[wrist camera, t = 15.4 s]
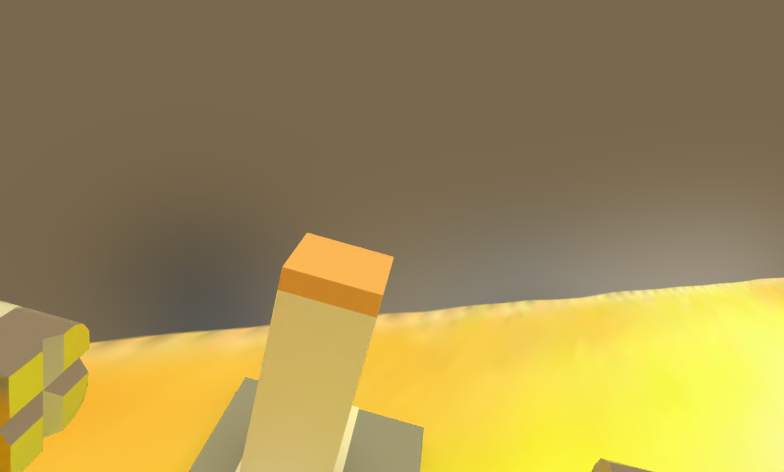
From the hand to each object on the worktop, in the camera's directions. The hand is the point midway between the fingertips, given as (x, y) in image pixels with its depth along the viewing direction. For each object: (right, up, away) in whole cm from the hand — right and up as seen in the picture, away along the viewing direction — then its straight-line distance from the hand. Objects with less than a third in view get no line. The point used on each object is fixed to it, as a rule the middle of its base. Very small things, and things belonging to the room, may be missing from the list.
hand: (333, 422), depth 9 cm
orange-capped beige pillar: (-4, -9, +20) cm, 22 cm away
